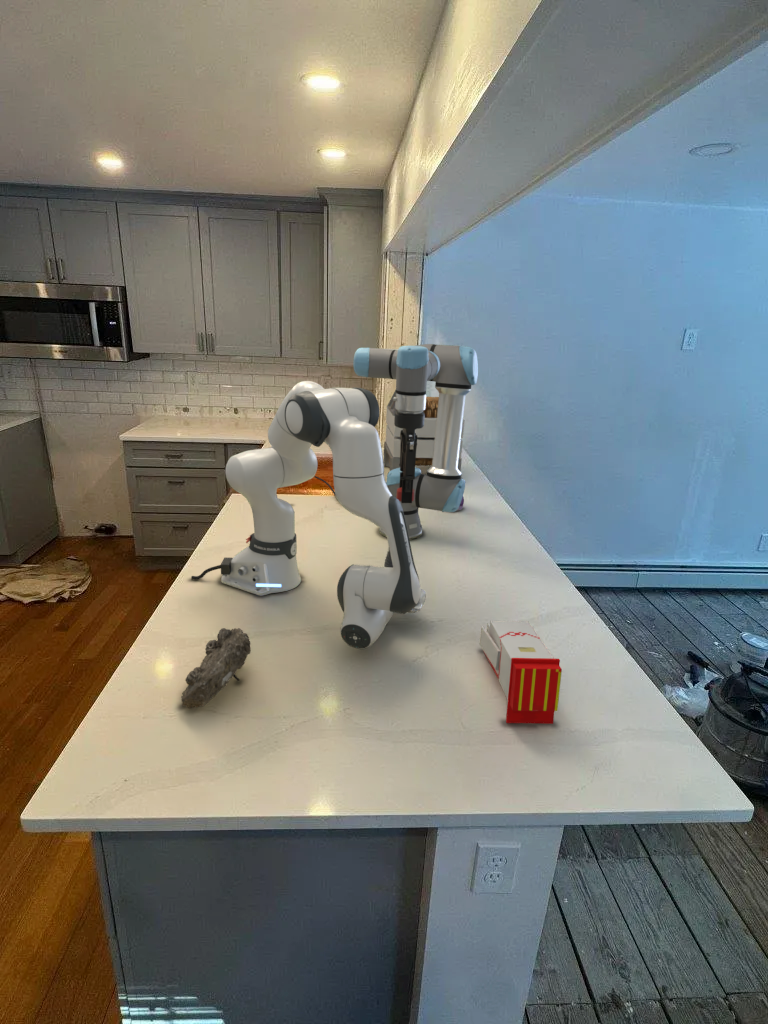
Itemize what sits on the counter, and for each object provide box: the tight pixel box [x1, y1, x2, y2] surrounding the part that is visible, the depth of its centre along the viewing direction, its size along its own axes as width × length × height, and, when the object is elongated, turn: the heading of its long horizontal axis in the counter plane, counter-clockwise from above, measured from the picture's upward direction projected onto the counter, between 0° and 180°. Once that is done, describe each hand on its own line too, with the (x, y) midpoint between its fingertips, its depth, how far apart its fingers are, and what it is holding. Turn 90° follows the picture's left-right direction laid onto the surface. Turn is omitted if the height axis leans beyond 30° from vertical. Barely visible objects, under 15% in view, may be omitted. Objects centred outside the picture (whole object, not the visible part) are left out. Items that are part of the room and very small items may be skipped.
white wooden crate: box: [383, 389, 465, 473], centre depth 268 cm, size 34×33×41 cm
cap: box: [396, 487, 415, 501], centre depth 149 cm, size 5×5×2 cm
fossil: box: [180, 627, 252, 709], centre depth 117 cm, size 22×10×15 cm
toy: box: [478, 620, 563, 725], centre depth 121 cm, size 12×13×30 cm
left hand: (394, 580), depth 151 cm, fingers closed on bottle, 5 cm apart
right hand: (405, 499), depth 149 cm, fingers closed on cap, 5 cm apart
